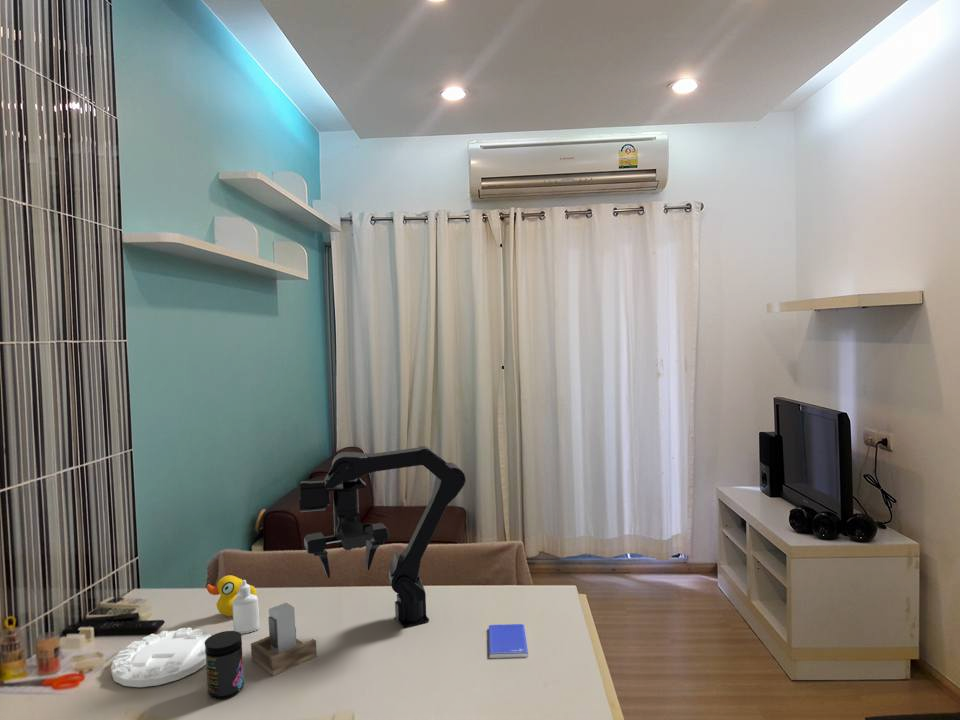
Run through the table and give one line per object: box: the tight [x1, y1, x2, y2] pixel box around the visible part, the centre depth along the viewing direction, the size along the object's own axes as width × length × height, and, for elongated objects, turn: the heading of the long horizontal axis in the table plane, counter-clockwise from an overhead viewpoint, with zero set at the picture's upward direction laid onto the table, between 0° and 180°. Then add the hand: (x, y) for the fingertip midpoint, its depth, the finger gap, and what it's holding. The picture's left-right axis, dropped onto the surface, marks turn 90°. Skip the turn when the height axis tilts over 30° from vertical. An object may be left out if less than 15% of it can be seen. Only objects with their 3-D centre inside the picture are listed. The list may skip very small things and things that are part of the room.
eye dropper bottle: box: [232, 579, 260, 635], centre depth 147 cm, size 4×6×12 cm
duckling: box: [206, 574, 258, 618], centre depth 155 cm, size 11×5×10 cm, turn 114°
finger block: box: [268, 602, 297, 656], centre depth 134 cm, size 4×4×10 cm
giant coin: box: [110, 627, 212, 688], centre depth 134 cm, size 20×20×3 cm
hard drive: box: [488, 623, 529, 659], centre depth 138 cm, size 2×8×12 cm
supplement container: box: [205, 630, 245, 700], centre depth 122 cm, size 7×7×10 cm
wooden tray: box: [250, 627, 317, 677], centre depth 134 cm, size 10×10×4 cm
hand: (348, 573), depth 146 cm, fingers open, 9 cm apart
